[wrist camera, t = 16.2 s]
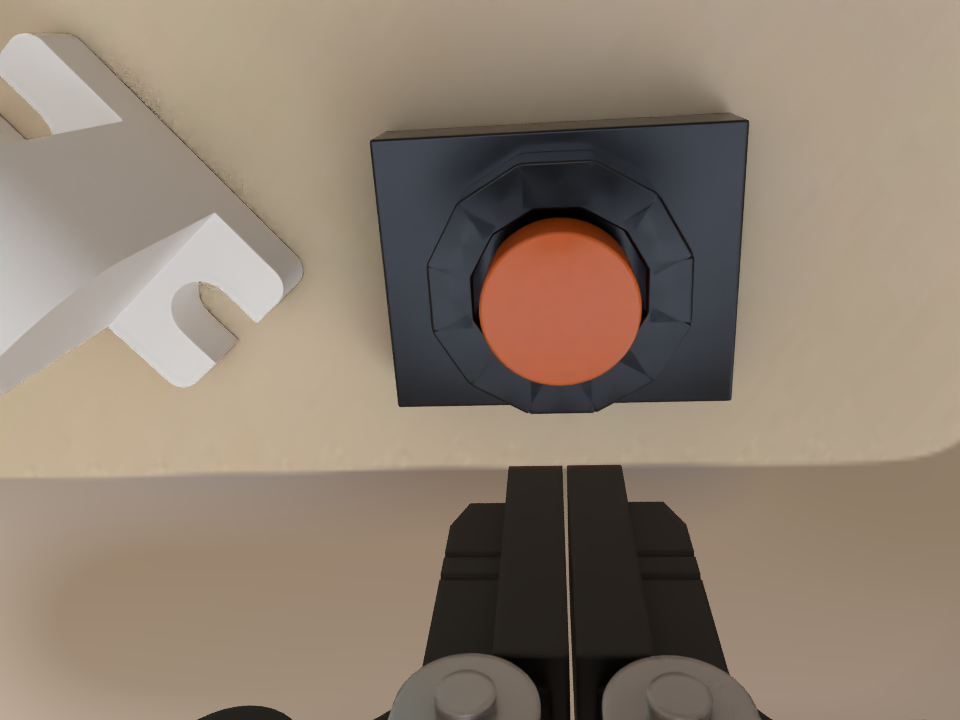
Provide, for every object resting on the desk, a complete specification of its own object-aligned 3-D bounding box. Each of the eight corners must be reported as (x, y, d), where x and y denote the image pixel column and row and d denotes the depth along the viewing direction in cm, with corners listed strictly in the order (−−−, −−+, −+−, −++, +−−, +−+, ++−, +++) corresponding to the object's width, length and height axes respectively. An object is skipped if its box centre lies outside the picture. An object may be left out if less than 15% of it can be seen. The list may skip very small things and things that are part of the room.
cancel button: (636, 213, 20) (643, 228, 18) (634, 359, 21) (641, 385, 20) (479, 219, 20) (473, 235, 19) (488, 362, 22) (483, 388, 20)
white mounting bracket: (208, 370, 27) (27, 545, 18) (-33, 149, 25) (-385, 215, 15) (311, 270, 25) (171, 405, 16) (63, 23, 23) (-267, 12, 14)
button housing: (731, 111, 22) (767, 127, 19) (717, 372, 25) (745, 429, 22) (384, 131, 23) (353, 148, 20) (409, 379, 26) (386, 435, 23)
